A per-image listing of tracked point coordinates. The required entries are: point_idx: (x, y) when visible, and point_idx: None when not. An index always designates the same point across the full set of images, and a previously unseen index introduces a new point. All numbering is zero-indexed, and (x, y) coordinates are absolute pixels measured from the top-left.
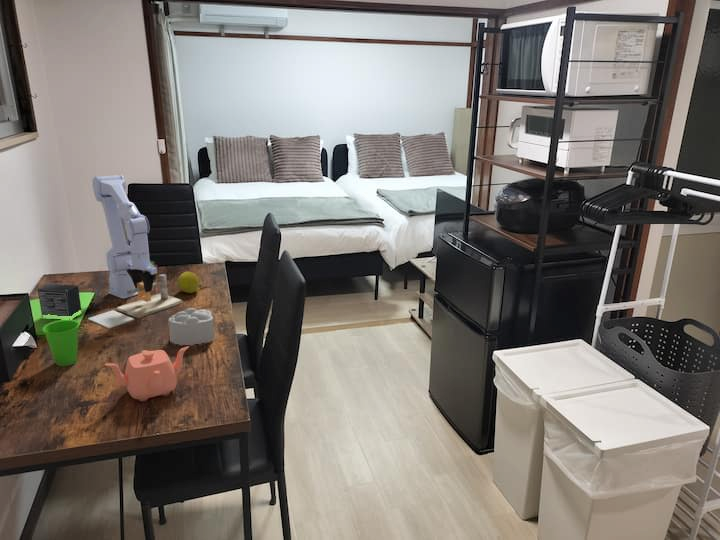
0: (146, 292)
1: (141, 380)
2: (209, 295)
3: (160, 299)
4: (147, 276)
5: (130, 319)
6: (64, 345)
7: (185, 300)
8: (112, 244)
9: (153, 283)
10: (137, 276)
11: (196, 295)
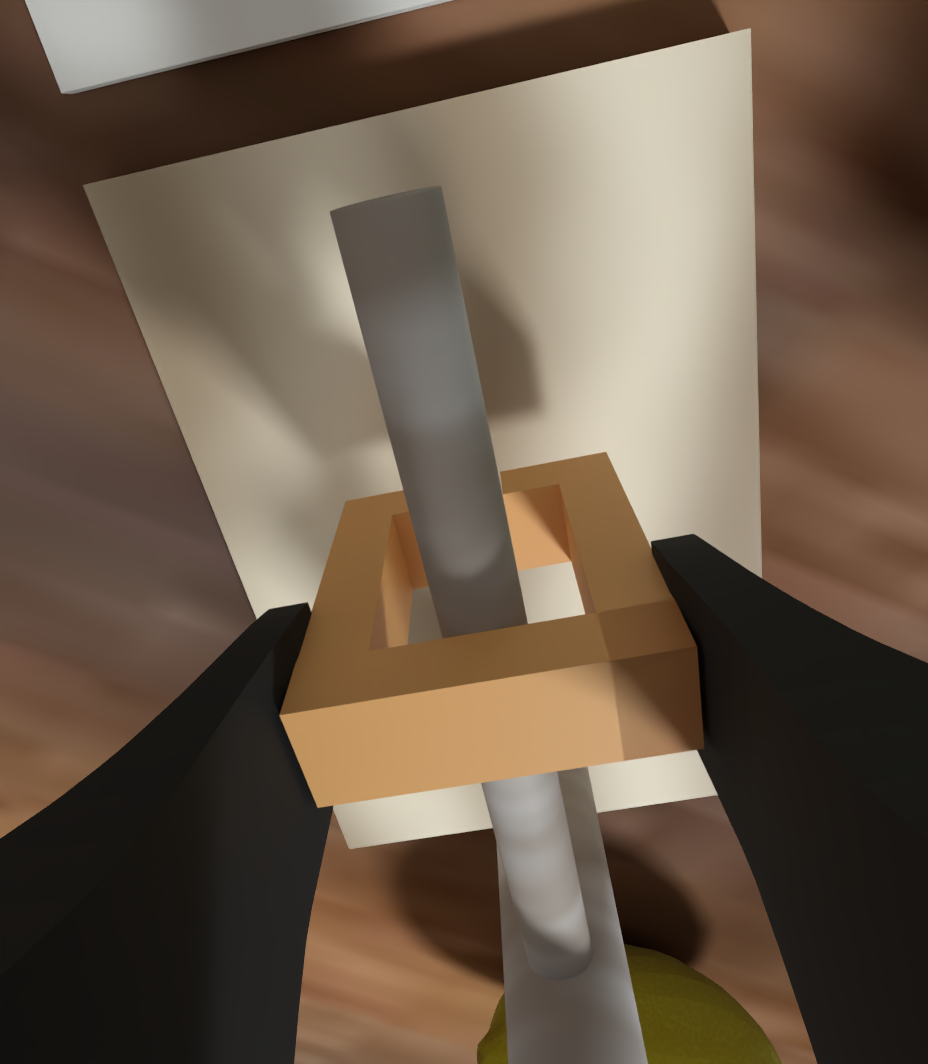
0: (318, 609)
1: None
2: (386, 1031)
3: None
4: None
5: (55, 17)
6: None
7: (404, 864)
8: None
9: (531, 875)
10: (783, 837)
11: (469, 970)
